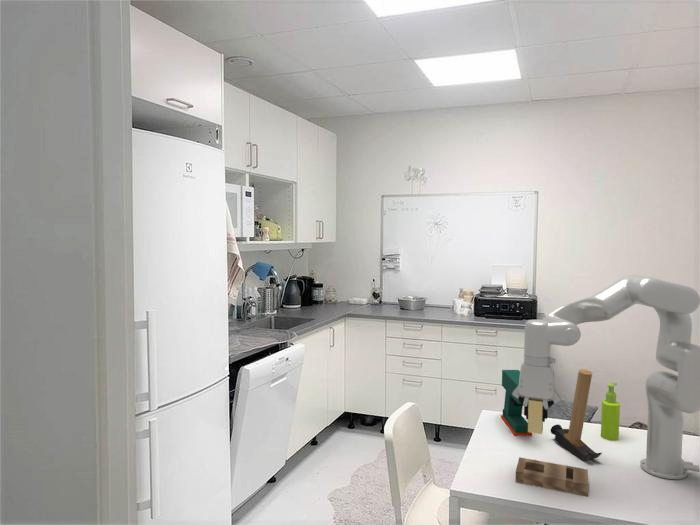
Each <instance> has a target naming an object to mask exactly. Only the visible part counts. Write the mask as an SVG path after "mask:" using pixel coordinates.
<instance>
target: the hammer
mask: <svg viewBox="0 0 700 525" xmlns="http://www.w3.org/2000/svg"><path fill="white" fill-rule="evenodd" d="M577 373H578V374H577V379H576V384H575V391H574V398H573V403H572V408H571V409H572V410H571V414H570V419H569V420H570V421H569V426H568V428H563V427H562V425H560V424H559V423H558V424H554V425H553V426H551V428H550V433H551V434H552V435H554V441H555V442H556V443H557V444H558V445H559V446H561V448H563V449H564V450H565V451H567V452H568V453H569V454H571V455H573V456H574V457H576V458H577V459H579V460H581V461H585V460H594V459H598V458H599V457H600V456H601V455H602V454H603V452H596V451H594V450H593V449H592V448H591V447H589V446H588V445H587V444H586V443H585V442H584V441H583V440H581V439H582V434H583V427H584V424H585V416H586V411H587V405H588V400H589V394H590V388H591V381H592V378H593V372H592V371H591V370H588V369H583V368H581V369H578V372H577Z"/></svg>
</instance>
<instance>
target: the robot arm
mask: <svg viewBox="0 0 700 525" xmlns="http://www.w3.org/2000/svg"><path fill="white" fill-rule="evenodd" d="M634 305H642V306H646V307H649V308H653V309H654V310H655V312H656V314H657V315H658V319H659V332H658V336H657V343H656V350H655V360H656V361H657V363H658V364H660V365H661V366H662V367H664V368H666V369H669V370H671V371H674V372H676V373H677V374H675V373H672V372H669V371H666V370H665V371H664V370H657V371H654V372H652V373H650V374H649V375H648V377H647V378H646V380H645V386H644V387H645V395H646V398H647V399H646V400H647V426H646V427H647V428H646V429H647V432H646V454H645V456H646V457H645V458H642V459H641V460H640V463H639V464H640V465H639V466H640V467H641V469H642V470H643V471H645V472H646V473H648V474H650V475H653V476H655V477H659V478H662V479H668V480H682V479H685V478H687V474H688V471H691V472H696V473H700V465H696V464H694V463H693V462H692V461H685V460H683V458H682V457H683V456H682V452H683V434H684V432H683V431H684V430H683V429H684V414H683V413H686V414H695V413H698V412H699V411H700V345H696V344H693V343H692V334H693V332H692V331H693V323H692V322H693V321H692V318H691V314H692V313H694V312H695V311H696V310H698V308H699V307H700V295H699V293H698V291H696V289H694V288H692V287H691V286H689V285H685V284H684V285H683V284H679V283H675V282H670V281H665V280H662V279H658V278H654V277H650V276H644V275H643V276H642V275H634V274H631V275H626V276H623V277H622V278H620V279H618V280H617V281H615V282H613V283H612V284H610V285H608V286H607V287H604V289H602V290H600V291H598V292H596V293H594V294H593V295H591V296H588V297H585V298H583V299H579V300H577V301H574V302H569V303H568V304H565V305H563V306H561V307H559V308H557V309H555V310H553V311H552V312H550V313H549V314H547V315H546V316H545V317H543V319H528V320H526V321H525V323H524V342H523V343H524V346H523V347H524V349H523V350H524V352H523V362H521V366H520V370H519V371H520V377H519V385H518V386H517V388H516V389H515V390H514V391H513V393H512V395H513V396H515V397H516V398H518V399H519V401H520V402H521V403H522V404H523V416H525V420H526V421H528V400H529V397H530V398H537V399H543V412H542V421H543V423H545V422H546V420H547V419H548V416H549V415H548V414H549V413H548V412H549V410H548V409H550V408H551V407H552V406H553V405H554V404H557V403H559V402H561V399H562V398H561V397H560V395H559V393H558V391H557V390H556V389H555V387H556V386H555V371H554V366H553V365H552V364H556V358H554V357H552V356H551V348H552V347H551V346H552V345H556V346H563V347H570V346H573V345H575V344H577V343H578V342H579V341H580V339H581V336H582V333H581V332H582V331H581V329H580V327H579V326H578V325H581V324H584V323H585V324H586V323H593V322H594V323H595V322H596V323H598V322H604V321H610V320H611V319H612V318H615V317H616V316H617V315H620V314H621V313H622V312H624V311H625V310H628V309H629V308H631V307H633V306H634ZM518 392H519V393H518ZM523 396H524V397H525V398H524V397H523Z"/></svg>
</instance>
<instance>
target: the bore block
mask: <svg viewBox="0 0 700 525" xmlns="http://www.w3.org/2000/svg"><path fill="white" fill-rule="evenodd" d="M515 483H519V484H523V483H524V484H525V485H528V484H529V486H533V485H535V486H534V487H538V486H540V487H539V488H543V487H544V488H543V489H548V488H550V489H549V490H553V489H554V491H560V492H564V493H570V494H575V495H580V496H585V497H589V469H587V468H581V467H575V466H571V465H570V466H569V465H566V464H559V463H554V462H549V461H542V460H537V459H531V458H526V457H520V456H519V458H518V460H517V465H516V469H515Z"/></svg>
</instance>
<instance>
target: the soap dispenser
mask: <svg viewBox="0 0 700 525" xmlns="http://www.w3.org/2000/svg"><path fill="white" fill-rule="evenodd" d="M617 385H618V383H616V382H609V383H608V384H607V388H608V391H606V393H605V399H603V400H601V418H600V419H601V420H600V421H601V422H600V438H602V439H604V440H607V441H619V438H620V436H619V435H620V416H621V415H620V409H621V407H620V406H621V403H620V402H618V401H617V393H616V392H615V391H614V390H615V386H617Z"/></svg>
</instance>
